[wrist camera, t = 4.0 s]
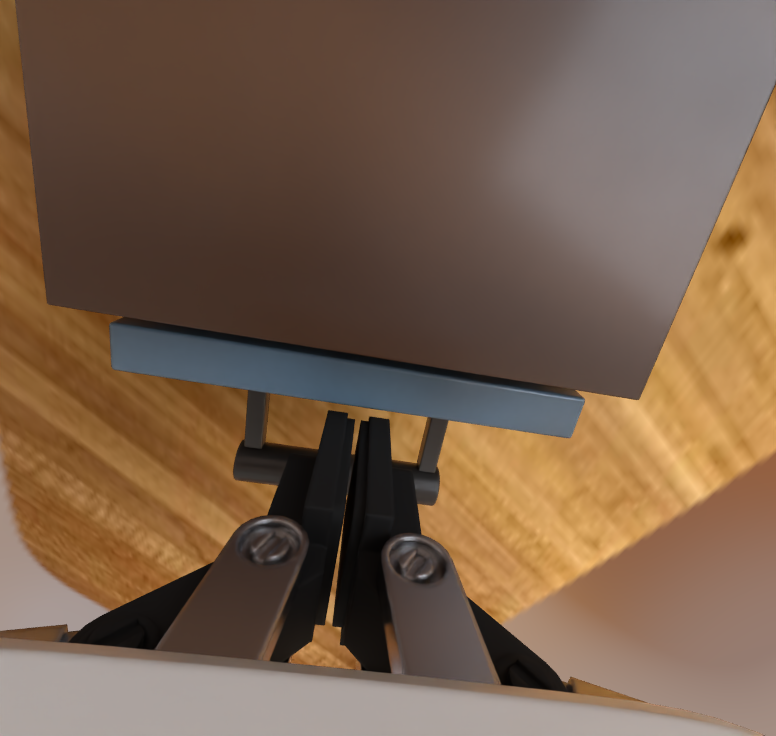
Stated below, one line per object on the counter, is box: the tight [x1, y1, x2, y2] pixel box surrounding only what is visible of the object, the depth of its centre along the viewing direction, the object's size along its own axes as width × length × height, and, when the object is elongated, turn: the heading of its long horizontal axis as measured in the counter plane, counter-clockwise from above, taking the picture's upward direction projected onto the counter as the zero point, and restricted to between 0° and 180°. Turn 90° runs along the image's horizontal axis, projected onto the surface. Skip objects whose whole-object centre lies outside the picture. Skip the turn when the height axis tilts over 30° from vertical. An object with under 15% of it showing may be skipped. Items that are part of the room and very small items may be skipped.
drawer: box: [109, 317, 585, 506], centre depth 13 cm, size 18×12×8 cm, turn 170°
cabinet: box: [15, 0, 776, 400], centre depth 11 cm, size 15×13×10 cm
